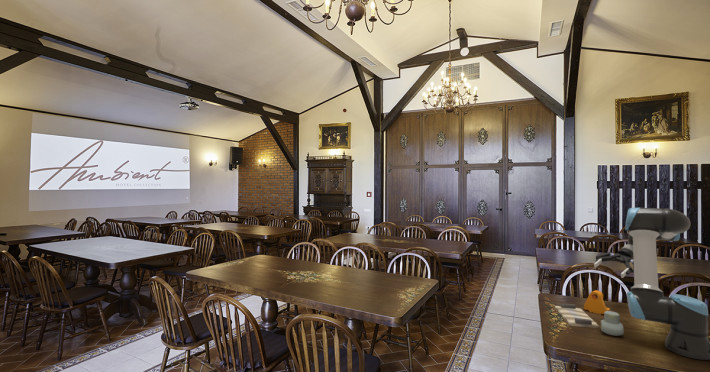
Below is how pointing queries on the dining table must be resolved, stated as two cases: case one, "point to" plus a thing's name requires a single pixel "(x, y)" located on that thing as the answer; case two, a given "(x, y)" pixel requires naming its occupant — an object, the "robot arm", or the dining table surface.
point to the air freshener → (611, 324)
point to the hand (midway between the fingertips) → (607, 270)
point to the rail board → (575, 316)
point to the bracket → (595, 303)
